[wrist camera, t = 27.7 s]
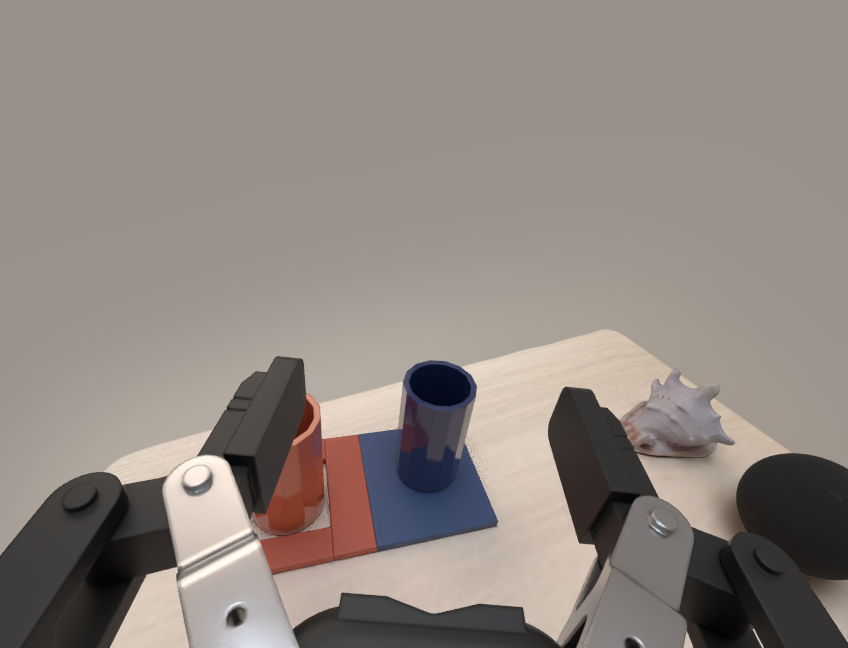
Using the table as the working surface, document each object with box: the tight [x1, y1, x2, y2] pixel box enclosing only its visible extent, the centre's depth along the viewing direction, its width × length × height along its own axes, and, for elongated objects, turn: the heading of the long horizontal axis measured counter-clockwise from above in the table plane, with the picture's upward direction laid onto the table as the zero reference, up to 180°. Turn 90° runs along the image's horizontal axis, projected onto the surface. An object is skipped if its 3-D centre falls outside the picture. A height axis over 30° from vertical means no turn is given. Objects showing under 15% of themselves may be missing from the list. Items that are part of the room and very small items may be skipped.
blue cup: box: [395, 361, 477, 493], centre depth 37 cm, size 6×6×11 cm
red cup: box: [252, 393, 324, 536], centre depth 33 cm, size 6×6×11 cm
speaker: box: [736, 453, 848, 580], centre depth 35 cm, size 10×10×10 cm
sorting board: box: [260, 429, 498, 574], centre depth 38 cm, size 22×12×1 cm, turn 105°
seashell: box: [620, 369, 735, 458], centre depth 45 cm, size 10×12×9 cm
